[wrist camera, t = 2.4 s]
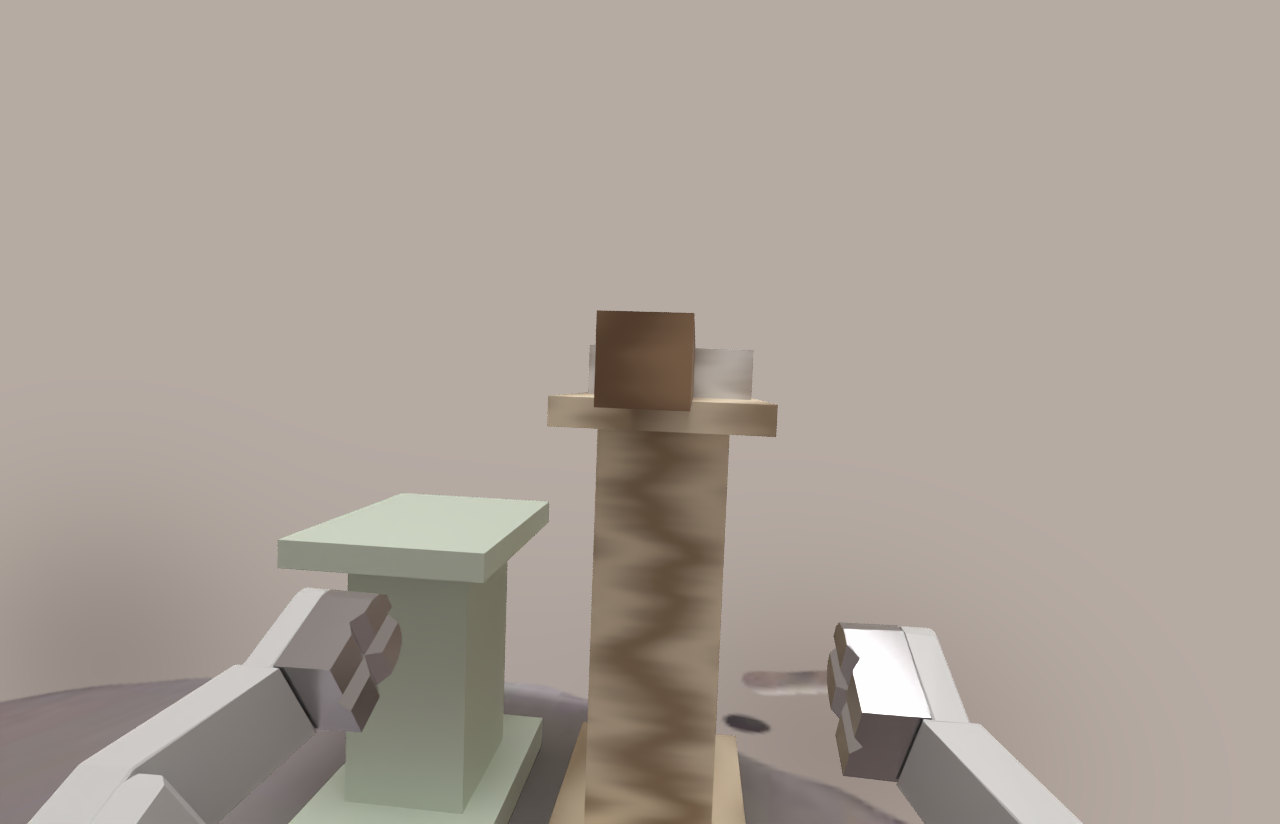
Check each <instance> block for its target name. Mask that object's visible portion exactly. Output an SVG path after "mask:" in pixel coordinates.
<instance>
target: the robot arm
mask: <svg viewBox="0 0 1280 824" xmlns="http://www.w3.org/2000/svg"><path fill="white" fill-rule="evenodd" d="M391 607H392V605H391V603H390V601H389V599H388V596H387V595H386V594H375V593H364V592H353V591H340V590H332V589H318V588H304V589H303V590H302V591H300V592H298V593H297V594H296V595H295V596H294V597H293V599H292V600H291V601H290V603H289V604H288V605H287V607H286V608H285V609H284V611H283V612H282V613H281V615H280V616H279V617H278V619H277V620H276V621H275V623H274V624H273V625H272V627H271V628H270V629H269V631H268V632H267V633H266V635H265V636H264V637H263V639H262V640H261V641H260V643H259V644H258V645H257V647H256V648H255V649H254V651H253V652H252V653H251V655H250V656H249V657H248V659H247V660H246V661H245V663H244V664H243V665H234V666H232V667H230V668H229V669H227V670H226V671H224V672H223V673H221V674H220V675H218V676H216V677H215V678H213V679H212V680H210V681H209V682H207V683H205V684H204V685H202V686H201V687H199V688H198V689H196V690H194V691H193V692H191V693H190V694H188V695H187V696H185V697H184V698H182V699H180V700H179V701H177V702H176V703H174V704H173V705H171V706H169V707H168V708H166V709H165V710H163V711H162V712H160V713H159V714H157V715H155V716H154V717H152V718H151V719H149V720H148V721H146V722H144V723H143V724H141V725H140V726H138V727H137V728H135V729H134V730H132V731H130V732H129V733H127V734H126V735H124V736H123V737H121V738H119V739H118V740H116V741H115V742H113V743H112V744H110V745H109V746H107V747H105V748H104V749H102V750H101V751H99V752H98V753H96V754H94V755H93V756H91V757H90V758H88V759H87V760H85V761H83V762H82V763H80V764H79V765H78V766H77V767H76V769H75V770H74V771H73V772H72V773H71V774H70V775H69V777H68V778H67V779H66V780H65V781H64V782H63V783H62V785H61V786H60V787H59V788H58V789H57V790H56V792H55V793H54V794H53V795H52V796H51V797H50V798H49V800H48V801H47V802H46V803H45V804H44V805H43V806H42V808H41V809H40V810H39V811H38V812H37V813H36V814H35V816H34V817H33V818H32V819H31V820H30V821H29V823H28V824H217V823H218V822H219V821H220V820H221V819H223V818H224V817H225V816H226V815H227V814H228V813H229V812H230V811H231V810H232V809H234V808H235V807H236V806H237V805H238V804H239V803H240V802H241V801H242V800H243V799H244V798H246V797H247V796H248V795H249V794H250V793H251V792H252V791H253V790H254V789H255V788H256V787H258V786H259V785H260V784H261V783H262V782H263V781H264V780H265V779H266V778H267V777H268V776H270V775H271V774H272V773H273V772H274V771H275V770H276V769H277V768H278V767H279V766H280V765H282V764H283V763H284V762H285V761H286V760H287V759H288V758H289V757H290V756H291V755H293V754H294V753H295V752H296V751H297V750H298V749H299V748H300V747H301V746H302V745H303V744H305V743H306V742H307V741H308V740H309V739H310V738H311V737H312V736H313V735H314V734H315V733H316V730H329V731H346V732H362V731H363V729H364V727H365V725H366V723H367V721H368V719H369V717H370V715H371V713H372V711H373V709H374V707H375V705H376V703H377V701H378V699H379V697H380V695H379V690H378V684H379V683H380V682H382V681H383V680H384V679H385V678H387V677H388V676H389V675H391V673H392V671H393V669H394V667H395V665H396V663H397V661H398V658H399V654H400V649H401V645H402V635H401V629H400V626H399V623H398V622H397V621H396V620H395V619H393V618H392V617H391V616H389V615H388V613H389V611H390V609H391ZM834 640H835V645H836V649H834V650H833V651H831V652H830V655H829V660H828V666H827V685H828V695H829V701H830V707H831V709H832V710H833V712H834V713H835V714H836V715H837V716H838V718H839V723H838V727H837V731H836V740H837V746H838V751H839V757H840V762H841V767H842V773H843V776H850V777H858V778H866V779H875V780H883V781H892V782H897V786H898V787H899V789H900V790H901V792H902V793H903V795H904V796H905V797H906V799H907V800H908V801H909V803H910V804H911V806H912V807H913V808H914V810H915V811H916V812H917V814H918V815H919V817H920V818H921V819H922V821H923V822H924V823H925V824H1083V823H1082V822H1081V821H1080V820H1079V819H1077V818H1076V817H1075V816H1074V815H1073V814H1072V813H1071V812H1070V811H1069V810H1068V809H1067V808H1066V807H1065V806H1064V805H1063V804H1062V803H1061V802H1060V801H1059V800H1058V799H1057V798H1056V797H1055V796H1054V795H1053V794H1052V793H1051V792H1050V791H1049V790H1048V789H1047V788H1046V787H1044V786H1043V785H1042V784H1041V783H1040V782H1039V781H1038V780H1037V779H1036V778H1035V777H1034V776H1033V775H1032V774H1031V773H1030V772H1029V771H1028V770H1027V769H1026V768H1025V767H1024V766H1023V765H1022V764H1021V763H1020V762H1019V761H1017V759H1016V758H1015V757H1013V756H1012V755H1011V754H1010V753H1009V752H1008V751H1007V750H1006V749H1005V748H1004V747H1003V746H1002V745H1001V744H1000V743H999V742H998V741H997V740H996V739H995V738H994V737H993V736H992V735H991V734H990V733H989V732H988V731H987V730H986V729H985V728H984V727H983V726H981V725H980V724H976V723H970V722H969V719H968V716H967V714H966V711H965V708H964V706H963V703H962V701H961V698H960V695H959V693H958V690H957V688H956V685H955V682H954V680H953V677H952V675H951V672H950V669H949V667H948V664H947V662H946V659H945V656H944V654H943V651H942V649H941V646H940V643H939V641H938V638H937V636H936V634H935V633H934V631H933V630H932V629H930V628H918V627H898V626H896V625H877V624H858V623H838V625H837V626H836V629H835V633H834Z"/></svg>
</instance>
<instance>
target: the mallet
mask: <svg viewBox="0 0 1280 824" xmlns="http://www.w3.org/2000/svg"><path fill="white" fill-rule="evenodd" d="M589 357H590V358H589V388H588V393H590V394H594V407H597V408H621V409H645V410H668V411H690V409H691V405H692V401H693V398H714V399H738V400H751V392H752V371H753V370H752V369H753V350H728V349H727V350H726V349H696V348H695V322H694V313H669V312H668V313H667V312H633V311H597V325H596V345H590V356H589Z"/></svg>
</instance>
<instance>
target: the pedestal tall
mask: <svg viewBox="0 0 1280 824" xmlns="http://www.w3.org/2000/svg"><path fill="white" fill-rule="evenodd" d="M777 408H778V405H775V404H771V403H767V402H764V401H760V400H756V399H752V398H751V400H738V399H714V398H693V401H692V405H691V409H690V411H668V410H645V409H621V408H597V407H594V394H590V393H576V394H563V395H552V396H548V419H547V426H549V427H572V428H593V429H598V436H597V437H598V438H597V467H596V494H595V523H594V553H593V581H592V610H591V611H592V613H591V640H590V669H589V697H588V722H583V723H582V726H581V729H580V732H579V735H578V738H577V741H576V744H575V747H574V750H573V753H572V756H571V759H570V762H569V765H568V768H567V771H566V774H565V777H564V780H563V783H562V786H561V789H560V792H559V795H558V798H557V801H556V804H555V807H554V809H553V812H552V815H551V818H550V821H549V824H745V816H744V807H743V798H742V789H741V780H740V771H739V762H738V753H737V744H736V736H732V735H721V734H716V715H717V694H718V671H719V649H720V627H721V607H722V585H723V563H724V542H725V518H726V498H727V476H728V455H729V435H745V436H746V435H747V436H767V437H776V428H777V427H776V426H777Z"/></svg>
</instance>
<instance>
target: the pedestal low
mask: <svg viewBox="0 0 1280 824" xmlns="http://www.w3.org/2000/svg"><path fill="white" fill-rule="evenodd" d="M548 522H549V502H546V501H529V500H510V499H495V498H478V497H476V498H475V497H460V496H443V495H425V494H409V493H402V494H399V495H396V496H394V497H392V498H388V499H386V500H383V501H380V502H378V503H375V504H373V505H370V506H367V507H364V508H361V509H359V510H356V511H353V512H351V513H348V514H345V515H343V516H340V517H337V518H335V519H332V520H329V521H327V522H324V523H322V524H318V525H316V526H313V527H310V528H308V529H305V530H303V531H300V532H297V533H294V534H292V535H289V536H286V537H284V538H281V539H278V568H281V569H296V570H310V571H323V572H337V573H348V591H353V592H364V593H375V594H386V595H387V596H388V599H389V601H390V603H391V605H392V607H391V609H390V611H389V613H388V615H389V616H391V617H392V618H393V619H395V620H396V621H397V622H398V623H399V626H400V629H401V635H402V645H401V649H400V654H399V658H398V661H397V663H396V665H395V667H394V669H393V671H392V673H391V675H389V676H388V677H387V678H385V679H384V680H383V681H382V682H380V683H379V684H378V690H379V695H380V697H379V699H378V701H377V703H376V705H375V707H374V709H373V711H372V713H371V715H370V717H369V719H368V721H367V723H366V725H365V727H364V729H363V731H362V732H346V762H345V763H344V764H343V765H342V767H341V768H340V769H339V770H338V771H337V772H336V773H335V774H334V775H333V776H332V777H331V778H330V779H329V781H328V782H327V783H326V784H325V785H324V786H323V787H322V788H321V789H320V790H319V791H318V792H317V793H316V795H315V796H314V797H313V798H312V799H311V800H310V801H309V802H308V803H307V804H306V805H305V806H304V808H303V809H302V810H301V811H300V812H299V813H298V814H297V815H296V816H295V817H294V818H293V819H292V820H291V822H290V823H289V824H508V822H509V820H510V817H511V815H512V813H513V810H514V808H515V806H516V803H517V801H518V799H519V796H520V794H521V792H522V789H523V787H524V785H525V782H526V780H527V778H528V775H529V773H530V771H531V768H532V766H533V764H534V761H535V759H536V757H537V754H538V752H539V750H540V747H541V745H542V721H543V718H538V717H527V716H517V715H506V714H503V708H504V670H505V633H506V595H507V594H506V593H507V561H508V560H509V559H510V558H511V557H512V556H513V555H514V554H515V553H516V552H517V551H518V550H519V549H520V548H522V547H523V546H524V545H525V544H526V543H527V542H528V541H529V540H530V539H531V538H532V537H533V536H534V535H535V534H537V533H538V532H539V531H540V530H541V529H542V528H543V527H544V526H545V525H546V524H547V523H548Z"/></svg>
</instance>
